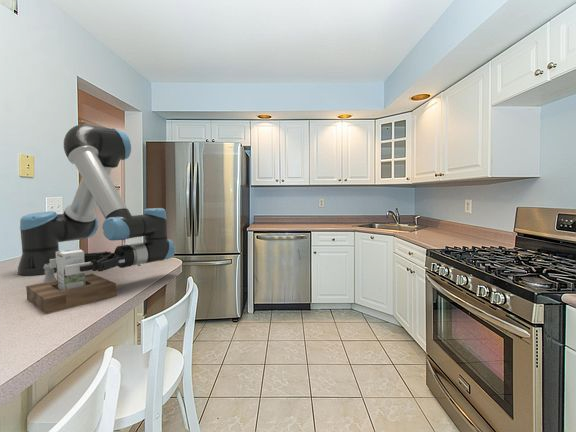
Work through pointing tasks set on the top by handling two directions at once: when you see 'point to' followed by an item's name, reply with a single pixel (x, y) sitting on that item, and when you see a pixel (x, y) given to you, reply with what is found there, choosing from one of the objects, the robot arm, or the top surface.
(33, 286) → the socket block
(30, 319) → the top surface
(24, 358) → the top surface
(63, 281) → the syrup box
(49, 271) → the rook chess piece
